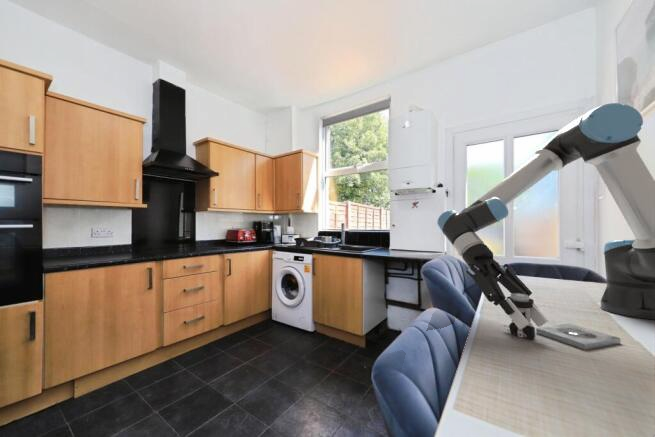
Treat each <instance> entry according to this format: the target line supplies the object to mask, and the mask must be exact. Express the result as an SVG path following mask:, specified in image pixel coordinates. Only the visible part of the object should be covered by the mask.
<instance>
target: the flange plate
mask: <svg viewBox="0 0 655 437" xmlns="http://www.w3.org/2000/svg"><path fill="white" fill-rule="evenodd" d="M535 334H539V335H541V336H543V337H547V338H550V339H552V340H556V341H559V342H560V343H564V344H567V345H570V346H573V347H575V348H578V349H581V350H584V351H589V350H595V349H600V348H602V347H603V348H604V347H608V346H615V345H620V344H621V343H622V341H621V337H619V336H613V335H611V334H607V333H604V332H600V331H596V330H593V329H590V328H586V327H583V326H578V325H575V324H571V323H564V324H555V325H549V326H543V327H542V326H540V327H535Z"/></svg>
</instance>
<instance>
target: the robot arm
mask: <svg viewBox="0 0 655 437" xmlns="http://www.w3.org/2000/svg"><path fill="white" fill-rule="evenodd" d="M643 119H644V118H643V117H642V114H641V113H640V112H639V111H638V109H636V108H635V107H633V106H631V105H628V104H626V103H625V104H623V103H618V102H614V103H613V102H612V103H611V102H610V103H606V104H601V105H600V106H598V107H596V108H595V107H594V108H593V109H591V110H589V111H587V112H586V113H584V114H583V115H581V116H579V117H578V118H577V119H575V120H573V121H572V122H571V123H569V124H567V125H565V126H564V127H563V128H562V129H559V131H558V132H556V133H555V135H553V136H552V137H551V138H550V139H549V140H548V141H547V142H546V143H544V144H543V145H542V146H541V147H540V148H538V149H537V150H536V151H534V152H535V153H534V156H533V157H531V158H530V159H529V160H527V162H525V163H524V164H523V165H521V166H520V167H519V168H517V169H516V170H515V171H514V172H512V173H511V174H509V175H508V176H507V177H505V178H504V179H503V180H501V181H500V182H499V183H498V184H496V185H495V186H494V187H493V188H491V189H490V190H488V191H487V192H486V193H485V194H483V195H482V196H481V197H479V198H478V199H477V200H476V201H474V202H473V203H472V204H471V205H469V206H467V207H465V208H464V209H462V210H461V211H460V213H459V212H457V211H456V210H453V209H452V210H445V211H444V212H442V214H440V215H439V217H438V218H437V221H436V222H437V225H438V227H439V229H440V230H441V232H442V234H443V235H444V237H446V238H447V240H448V241H449V242H450V243H451V245H452V246H453V247H454V249H455V250H456V251H457V252H458V255H460V256H461V257H462V258H461V259H462V260H463V261H464V263H465V264H466V265H467V266H468V269H467V270H466V271H465V272H466V274H467V275H469V276H470V278H472V279H473V281H474V282H475V284H476V285H477V287H478V288H479V290H480V291H481V292H482V294H483V295H484V297H485V298H486V299H487V301H488V302H490V303H493V305H495V306H500V308H501V309H502V310H503V311H504V313H505V315H507V316H509V318H510V319H511V321H512V320H513V322H514V323H515V324H516V326H517V327H518V328H519V330H520V329H523V328H524V327H526V326H527V325H529V324H530V323H529V322H528V321H527V319H526V318H525V317H524V316H523V315H522V313H521V312H520V311H519V310H518V308H517V307H516V306H515V305H514V303H513V302H512V301H511V300H510V298H508V299H507V297H506V296H505V294H504V292H503V290H502V288H501V287H500V285H499V284H501V285H502V287H504V288H505V289H506V290H507V291H508V292H509V293H510V294H512V293H521V294H526V295H528V296H529V297H530V296H531V295H532V294H533V292H532V291H531V289H530V288H529V287H527V285H526V284H525V283H524V282H523V281H522V280H521V279H520V278H519V277H518V276H517V274H515V272H514V271H513V270H512V269H511V266H509V264H508V263H504V264H503V265H502V264H500V263H499V262H498V261H496V260H495V259H494V252H493V251H492V250H491V249H490V248H489V247H488V246H487V245H486V243H485V242H484V241H483V240H482V239H481V238H480V237H479V235H478V234H477V233H476V232H478V231H480V230H483V229H485V228H487V227H489V226H492V225H493V224H496V223H499V222H501V221H503V220H504V219H505V218H507V217H509V210H508V207H507V206H508V205H509V204H510V203H511V202H513V201H514V200H516V198H518V197H520V196H521V195H522V194H523V193H525V192H526V191H527V190H529V189H531V188H532V187H533V186H535V185H536V184H537V183H539V182H540V181H541V180H542V179H544V178H545V177H547V176H548V175H549V174H551V173H552V172H553V171H560V170H561V169H563V168H564V167H565V166H567V165H568V164H570V163H572V162H575V161H577V160H579V159H581V158H582V159H583V162H584V163H586V164H590V165H593V166H594V167H595V169H596V170H597V172H598V173H599V175H600V177H601V178H602V181H603V182H604V184H605V186H606V188H607V189H608V191H609V194H610V195H611V196H612V198H613V200H614V202H615V204H616V205H617V207H618V209H619V211H620V212H621V215H623V217H624V220H625V221H626V223H627V226H629V228H630V230H631V232H632V234H633V235H634V238H635V239H634V238H633V239H618V240H611V241H608V242H606V243H605V244H604V249H603V255H604V265H605V266H604V267H605V276H606V279H605V280H606V287H605V289H604V291H603V294H602V297H601V299H600V302H599V303H600V308H601V309H602V310H604V311H606V312H609V313H614V314H617V315H621V316H627V317H632V318H639V319H647V320H655V178H654V177H653V176H652V174H651V171H650V170H649V168H648V167H647V165H646V163H645V162H644V161H643V159H642V157H641V155H640V153H639V151H638V150H637V149H638V147H639V146H640V144H641V142H642V141H641V138H640V137H639V136H638V134H639V132H640V131H641V130H642V125H643V124H644V120H643ZM498 282H499V283H498ZM525 312H526V310H525ZM530 319H531V321H532V322H533V323H534V324H535V325H536V326H537V328H541V327H542V326H543V325H545V324H547V323H548V322H549V320H548V319H547V318H546V316H545V315H544V314H543V313H542V311H540V309H538V306H537V305H536V304H535V302H534V303H533V307H532V308H530Z"/></svg>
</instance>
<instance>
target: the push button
mask: <svg viewBox="0 0 655 437" xmlns="http://www.w3.org/2000/svg"><path fill="white" fill-rule="evenodd" d="M508 298H510V300H511V301H512V302H513V303H514V305H515V306H516V307H517V308H518V310H519V311H520V312H521V313H522V315H523V316H524V317H525V318H526V319H527V321H528V322H529V323H530V324H529V325H527V326H526V327H524V328H523V329H520V330H519V328H518V327H517V326H516V324H515V323H514V322H513V320H512V319H511V323H509V324H508V325H506V324H503V325H502V326H503V327H504V328H503V329H502V330H504V331H507V332H510V333H509V334H511V335H513V336H517V337H518V338H525V339H527V340H530V341H534V339H535V338H536V327H535V326H533V323H532V322H531V321H532V319H531V318H530V308H532V307H533V303H534V304H535V302H534V299H533V298H530V296H528V295H526V294H521V293H510V296H507V297H506V299H508ZM525 310H526V312H525Z"/></svg>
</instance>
